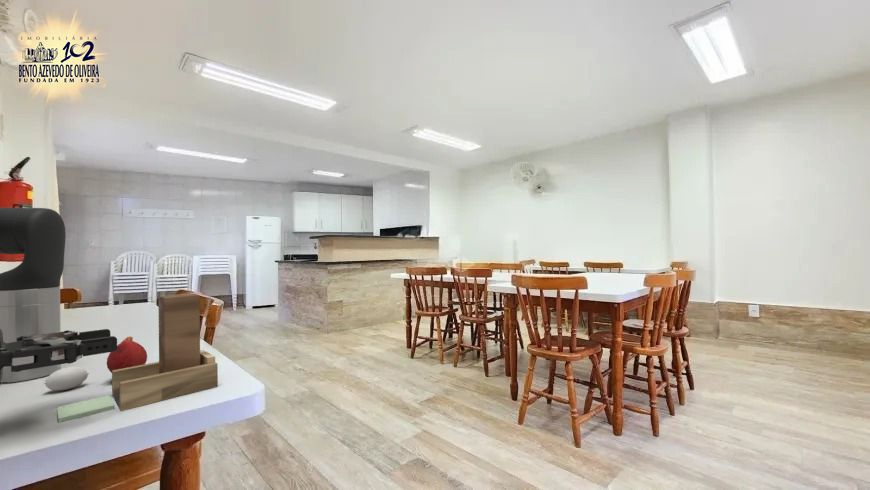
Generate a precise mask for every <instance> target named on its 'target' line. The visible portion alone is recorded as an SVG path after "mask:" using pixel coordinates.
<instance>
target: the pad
mask: <svg viewBox="0 0 870 490" xmlns="http://www.w3.org/2000/svg"><path fill="white" fill-rule="evenodd" d="M115 406H116V405H115V403H114V401H113V398H112V397H111V395H106V396H101V397H97V398H92V399H91V398H90V399H88V400H83V401H79V402H75V403H70V404H65V405H60V406H57V407H56V411H57V412H56V413H57V421H58V423H60V422H65V421H69V420H73V419H77V418H81V417H85V416H90V415H94V414H98V413H102V412H106V411H109V410H113V409H116V407H115Z"/></svg>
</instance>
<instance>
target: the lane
mask: <svg viewBox="0 0 870 490" xmlns="http://www.w3.org/2000/svg"><path fill="white" fill-rule="evenodd" d="M218 373H219V371H218V362H216V356H215V355H213V354H211V353H210V352H208V351H206V350H204V349H200V365H199V366H195V367H190V368H185V369H180V370H175V371H171V372H166V373H161V374H159V361H155V362H151V363H145V364H144V365H139V366H133V367H128V368H123V369H118V370H112V373H111V395H112V396H113V399H114V400H115V403H116V404H117V406H118V408H119V410H120V411H121V412H122V411H123V412H124V411H127V410H131V409H134V408H138V407H142V406H146V405H149V404H154V403H158V402H161V401H166V400H170V399H173V398H178V397H181V396H186V395H189V394H194V393H197V392H201V391H206V390H209V389H212V388H217V386H219V385H218V378H219V376H218Z"/></svg>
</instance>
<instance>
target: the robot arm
mask: <svg viewBox="0 0 870 490" xmlns="http://www.w3.org/2000/svg"><path fill="white" fill-rule="evenodd" d="M66 234H67V233H66V226H65V222H64V220H63V217H62V216H61V215H60V213H59V212H57V211H56V210H54V209H52V208H47V207H3V206H0V254H1V255H23V259H22V262H20V264H18V265H17V266H15V267H14V268H12V269H10V270H7V271H4V272H1V273H0V382H8V383H14V382H15V383H16V382H22V381H27V380H28V381H29V380H32V379H38V378H42V377H46V376H49V375H51V374H52V373H53V372H55V371H57V370H60V369H61V365H65V364H73V363H76V362H77V360H79V359H82V358H83V357H88V356H95V355H101V354H107V353H110V352H114V351H116V350H117V345H118V338H117V337H116V336H115V335H112V336H111V330H110V329H109V328H103V329H96V330H87V331H75V330H63V331H61V278H62V275H63V273H64V267H65V248H66V238H67V237H66Z"/></svg>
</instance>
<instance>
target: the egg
mask: <svg viewBox="0 0 870 490" xmlns="http://www.w3.org/2000/svg"><path fill="white" fill-rule="evenodd" d="M88 375H90V373H89V372H88V371H87V370H86V369H85V368H83V367H81V366H67V367H63V368H60V370H57V371H55V372H53V373H52V374H50V375H47V376H48V377H46V379H45V382H44V383H43V385H45V387H46V388H47V389H49V390H51V391H57V392H61V391H67V390H72V389H74V388H77V387H78V386H80V385H82V384H83V383H84V382H85V381H86V380H87V379H88Z"/></svg>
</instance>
